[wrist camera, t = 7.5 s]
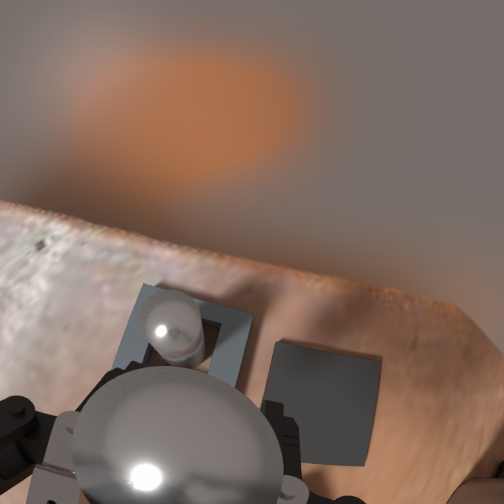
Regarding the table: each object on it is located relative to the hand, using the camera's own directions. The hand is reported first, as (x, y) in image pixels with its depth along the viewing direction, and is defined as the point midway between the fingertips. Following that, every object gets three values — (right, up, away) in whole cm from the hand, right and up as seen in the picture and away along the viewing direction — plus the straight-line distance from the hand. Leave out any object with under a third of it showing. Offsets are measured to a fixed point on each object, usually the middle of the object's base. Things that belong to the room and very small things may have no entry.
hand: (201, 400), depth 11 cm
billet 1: (-5, -4, +19) cm, 20 cm away
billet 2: (-1, -4, +3) cm, 5 cm away
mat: (+9, -10, +17) cm, 22 cm away
